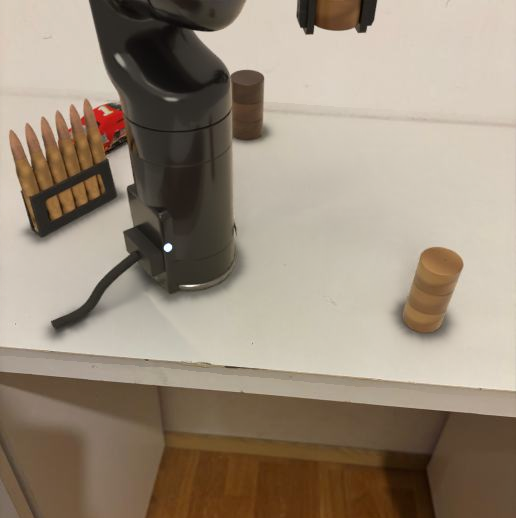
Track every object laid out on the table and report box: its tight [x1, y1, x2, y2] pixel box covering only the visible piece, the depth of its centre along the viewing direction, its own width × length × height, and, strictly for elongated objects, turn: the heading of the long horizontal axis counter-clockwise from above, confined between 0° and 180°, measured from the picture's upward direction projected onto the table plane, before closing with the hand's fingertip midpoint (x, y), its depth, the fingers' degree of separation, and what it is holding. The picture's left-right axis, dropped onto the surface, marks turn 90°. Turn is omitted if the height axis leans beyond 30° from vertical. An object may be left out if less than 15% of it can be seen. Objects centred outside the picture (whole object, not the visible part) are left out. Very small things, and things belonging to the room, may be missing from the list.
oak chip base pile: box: [402, 246, 464, 334], centre depth 54 cm, size 4×4×8 cm
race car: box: [57, 101, 127, 152], centre depth 75 cm, size 13×5×4 cm, turn 140°
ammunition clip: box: [8, 97, 118, 238], centre depth 62 cm, size 11×2×12 cm, turn 138°
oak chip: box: [314, 0, 362, 32], centre depth 52 cm, size 4×4×2 cm
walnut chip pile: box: [230, 69, 265, 141], centre depth 76 cm, size 4×4×8 cm
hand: (334, 29), depth 54 cm, fingers closed on oak chip, 4 cm apart
